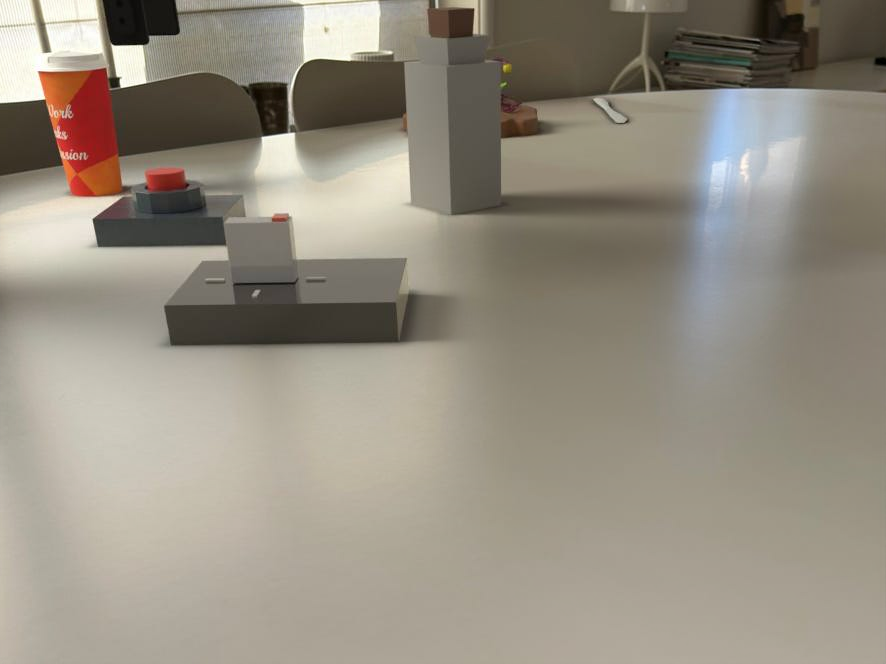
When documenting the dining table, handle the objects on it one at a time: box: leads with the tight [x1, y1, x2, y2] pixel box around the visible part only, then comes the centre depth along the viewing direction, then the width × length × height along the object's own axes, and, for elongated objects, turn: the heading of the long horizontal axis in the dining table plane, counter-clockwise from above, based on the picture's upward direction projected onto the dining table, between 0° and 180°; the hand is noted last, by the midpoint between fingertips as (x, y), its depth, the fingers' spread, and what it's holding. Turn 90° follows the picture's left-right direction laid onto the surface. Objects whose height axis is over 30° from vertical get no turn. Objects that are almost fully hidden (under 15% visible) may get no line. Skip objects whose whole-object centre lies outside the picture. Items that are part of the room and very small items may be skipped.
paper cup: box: [33, 50, 123, 198], centre depth 116 cm, size 8×8×14 cm
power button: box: [144, 166, 187, 191], centre depth 100 cm, size 4×4×2 cm
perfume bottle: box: [403, 6, 502, 216], centre depth 107 cm, size 7×7×18 cm
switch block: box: [91, 179, 247, 248], centre depth 101 cm, size 12×10×4 cm
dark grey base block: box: [163, 257, 410, 346], centre depth 78 cm, size 16×12×3 cm
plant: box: [402, 56, 539, 139], centre depth 153 cm, size 20×20×11 cm
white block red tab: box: [224, 212, 298, 283], centre depth 76 cm, size 5×2×4 cm, turn 90°
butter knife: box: [593, 97, 628, 124], centre depth 168 cm, size 1×27×3 cm
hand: (147, 39), depth 93 cm, fingers open, 9 cm apart
